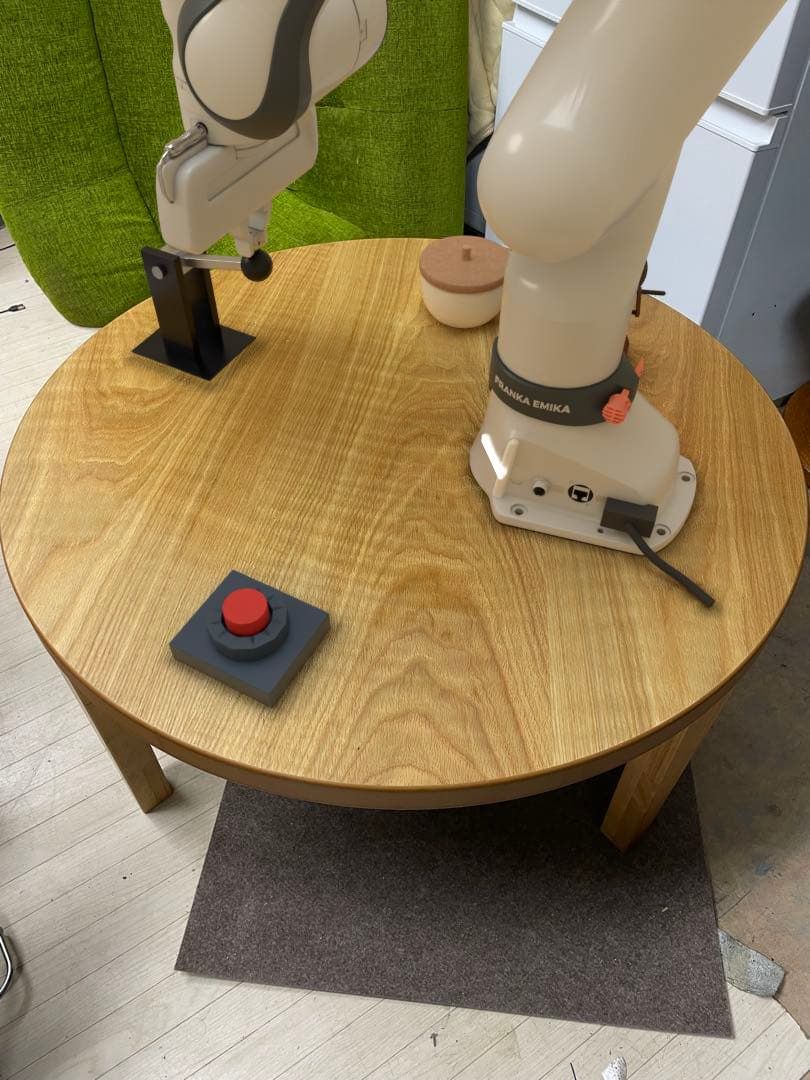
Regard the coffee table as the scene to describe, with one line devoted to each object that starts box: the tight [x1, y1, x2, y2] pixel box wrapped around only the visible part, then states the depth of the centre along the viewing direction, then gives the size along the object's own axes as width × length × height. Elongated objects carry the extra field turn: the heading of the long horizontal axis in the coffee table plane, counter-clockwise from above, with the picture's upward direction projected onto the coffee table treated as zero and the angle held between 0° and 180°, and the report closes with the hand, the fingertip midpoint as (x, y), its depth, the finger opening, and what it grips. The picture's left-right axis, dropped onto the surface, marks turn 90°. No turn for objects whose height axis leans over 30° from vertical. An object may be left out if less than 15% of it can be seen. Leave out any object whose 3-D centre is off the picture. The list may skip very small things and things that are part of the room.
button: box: [222, 589, 270, 636], centre depth 71 cm, size 4×4×2 cm
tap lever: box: [159, 243, 274, 283], centre depth 88 cm, size 14×3×3 cm, turn 62°
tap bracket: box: [130, 245, 257, 382], centre depth 95 cm, size 11×9×14 cm
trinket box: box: [418, 235, 510, 329], centre depth 101 cm, size 11×11×9 cm
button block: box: [168, 569, 331, 709], centre depth 72 cm, size 10×9×4 cm
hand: (252, 249), depth 85 cm, fingers closed
